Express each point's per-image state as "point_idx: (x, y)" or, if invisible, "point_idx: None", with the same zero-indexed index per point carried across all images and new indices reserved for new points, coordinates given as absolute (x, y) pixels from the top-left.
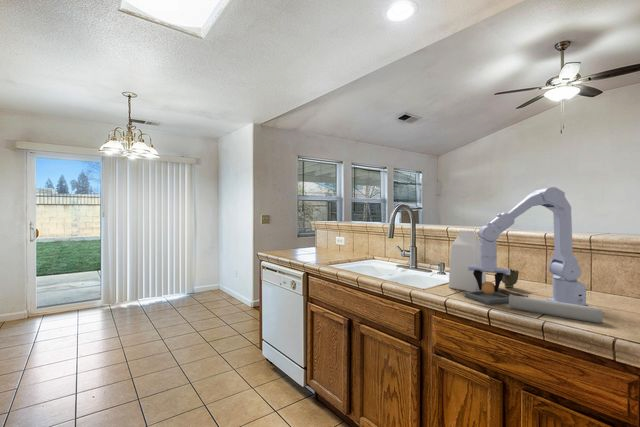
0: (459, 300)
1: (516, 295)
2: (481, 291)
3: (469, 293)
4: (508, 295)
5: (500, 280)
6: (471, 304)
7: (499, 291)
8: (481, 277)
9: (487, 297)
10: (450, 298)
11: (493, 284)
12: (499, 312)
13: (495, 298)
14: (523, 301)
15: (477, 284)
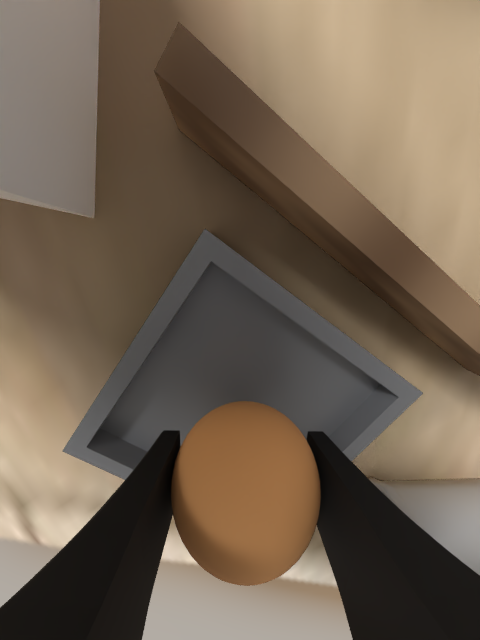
0: (97, 510)
1: (458, 344)
2: (162, 333)
3: (106, 461)
4: (386, 294)
5: (447, 582)
6: (179, 539)
7: (317, 228)
8: (114, 634)
9: (232, 399)
10: (35, 502)
11: (310, 538)
12: (315, 573)
13: (286, 392)
14: None
15: (25, 120)
